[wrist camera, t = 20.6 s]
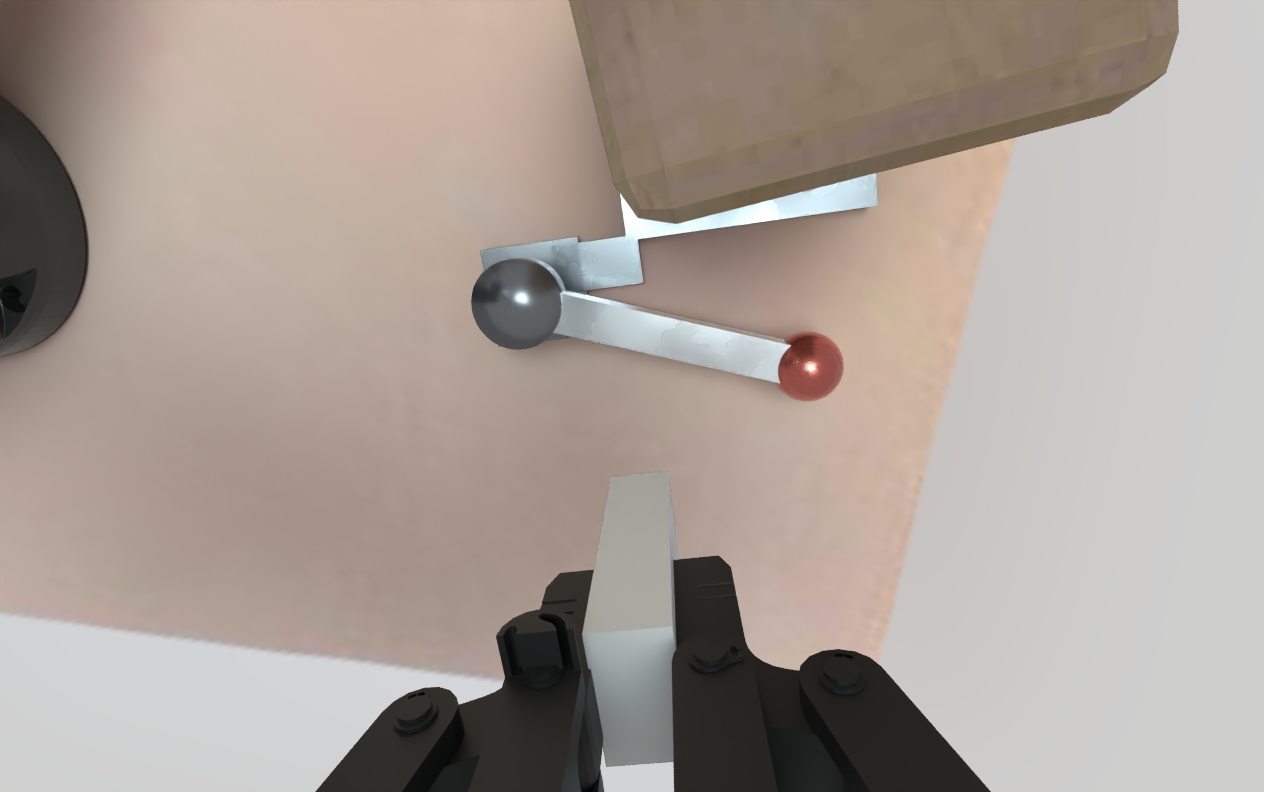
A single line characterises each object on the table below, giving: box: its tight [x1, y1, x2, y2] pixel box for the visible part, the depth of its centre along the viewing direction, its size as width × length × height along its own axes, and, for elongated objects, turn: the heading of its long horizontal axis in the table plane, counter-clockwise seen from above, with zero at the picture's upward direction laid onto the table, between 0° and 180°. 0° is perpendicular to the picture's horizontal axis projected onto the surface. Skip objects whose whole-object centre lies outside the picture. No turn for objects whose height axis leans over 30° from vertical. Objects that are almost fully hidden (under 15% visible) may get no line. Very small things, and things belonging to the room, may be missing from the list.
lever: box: [471, 257, 844, 401], centre depth 30 cm, size 4×17×3 cm, turn 78°
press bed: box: [480, 173, 877, 346], centre depth 25 cm, size 20×21×14 cm
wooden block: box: [569, 0, 1179, 224], centre depth 20 cm, size 10×10×20 cm
